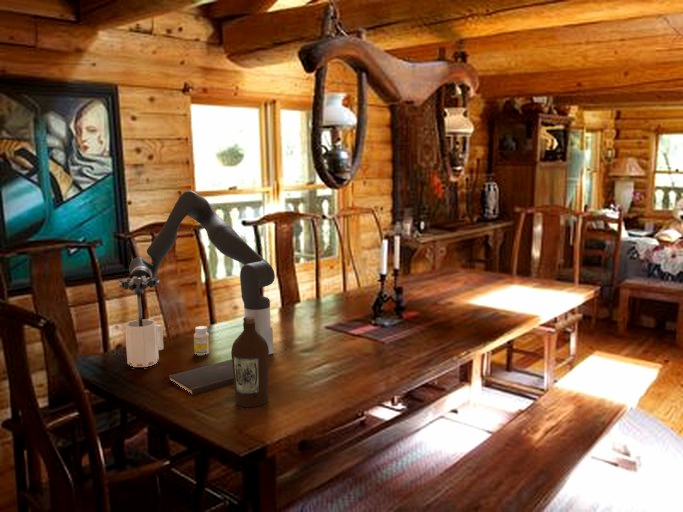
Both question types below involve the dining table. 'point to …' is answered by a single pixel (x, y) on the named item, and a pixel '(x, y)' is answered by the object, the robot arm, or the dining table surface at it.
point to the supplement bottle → (201, 341)
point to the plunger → (138, 297)
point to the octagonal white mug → (143, 342)
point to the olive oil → (250, 366)
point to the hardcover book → (205, 377)
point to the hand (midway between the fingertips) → (137, 287)
